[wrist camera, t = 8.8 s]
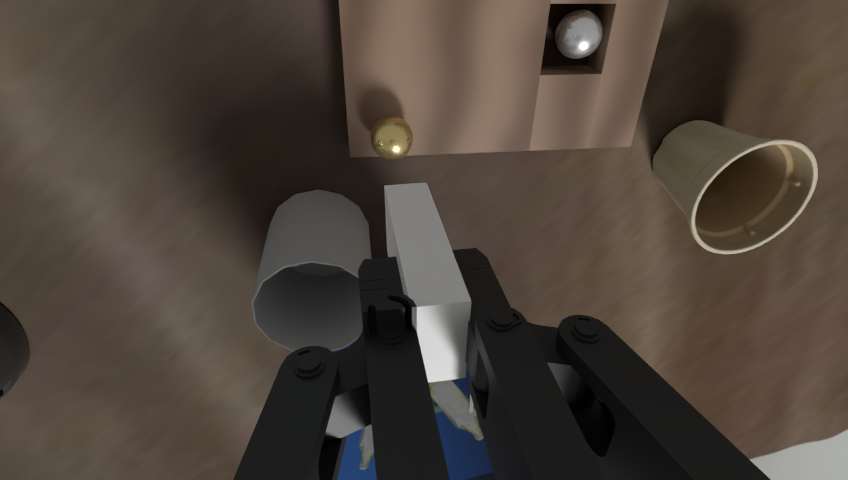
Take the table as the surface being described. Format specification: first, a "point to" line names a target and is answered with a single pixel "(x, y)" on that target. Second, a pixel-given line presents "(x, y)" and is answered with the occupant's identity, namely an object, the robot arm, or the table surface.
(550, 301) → the table surface
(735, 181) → the flower pot
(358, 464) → the string lights box
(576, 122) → the board
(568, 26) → the steel ball
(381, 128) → the brass ball
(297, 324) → the cup
